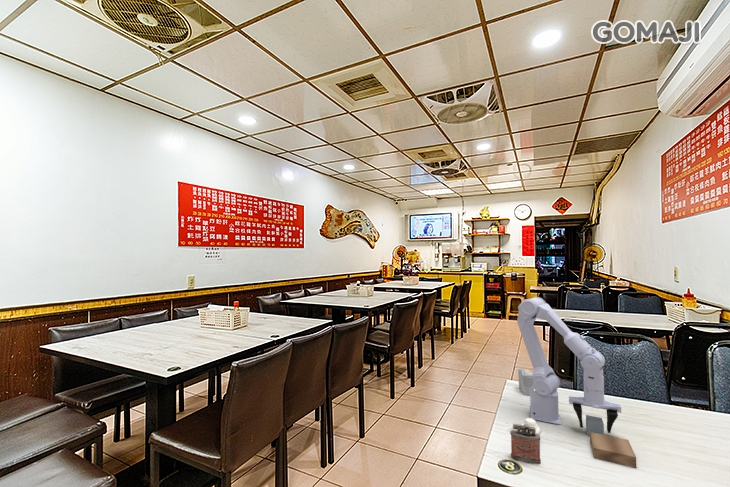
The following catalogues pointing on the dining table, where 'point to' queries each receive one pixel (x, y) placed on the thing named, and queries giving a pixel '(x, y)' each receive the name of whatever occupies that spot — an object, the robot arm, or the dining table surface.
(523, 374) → the medicine box
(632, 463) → the walnut block
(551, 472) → the dining table surface
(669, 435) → the dining table surface
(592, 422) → the slate cube
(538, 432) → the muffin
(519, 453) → the lighter
